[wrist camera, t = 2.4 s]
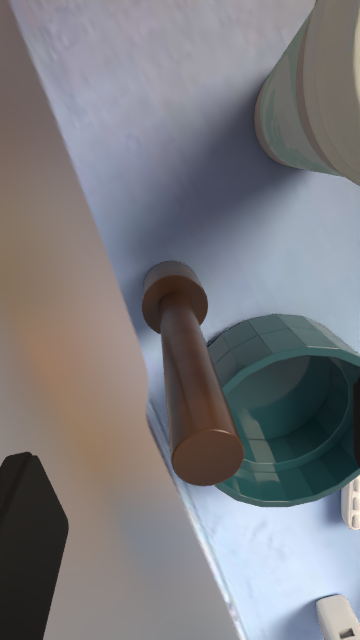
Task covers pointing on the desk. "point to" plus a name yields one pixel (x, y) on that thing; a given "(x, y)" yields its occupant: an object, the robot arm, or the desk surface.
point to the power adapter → (337, 619)
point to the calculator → (351, 504)
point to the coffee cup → (316, 95)
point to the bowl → (288, 409)
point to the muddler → (190, 378)
